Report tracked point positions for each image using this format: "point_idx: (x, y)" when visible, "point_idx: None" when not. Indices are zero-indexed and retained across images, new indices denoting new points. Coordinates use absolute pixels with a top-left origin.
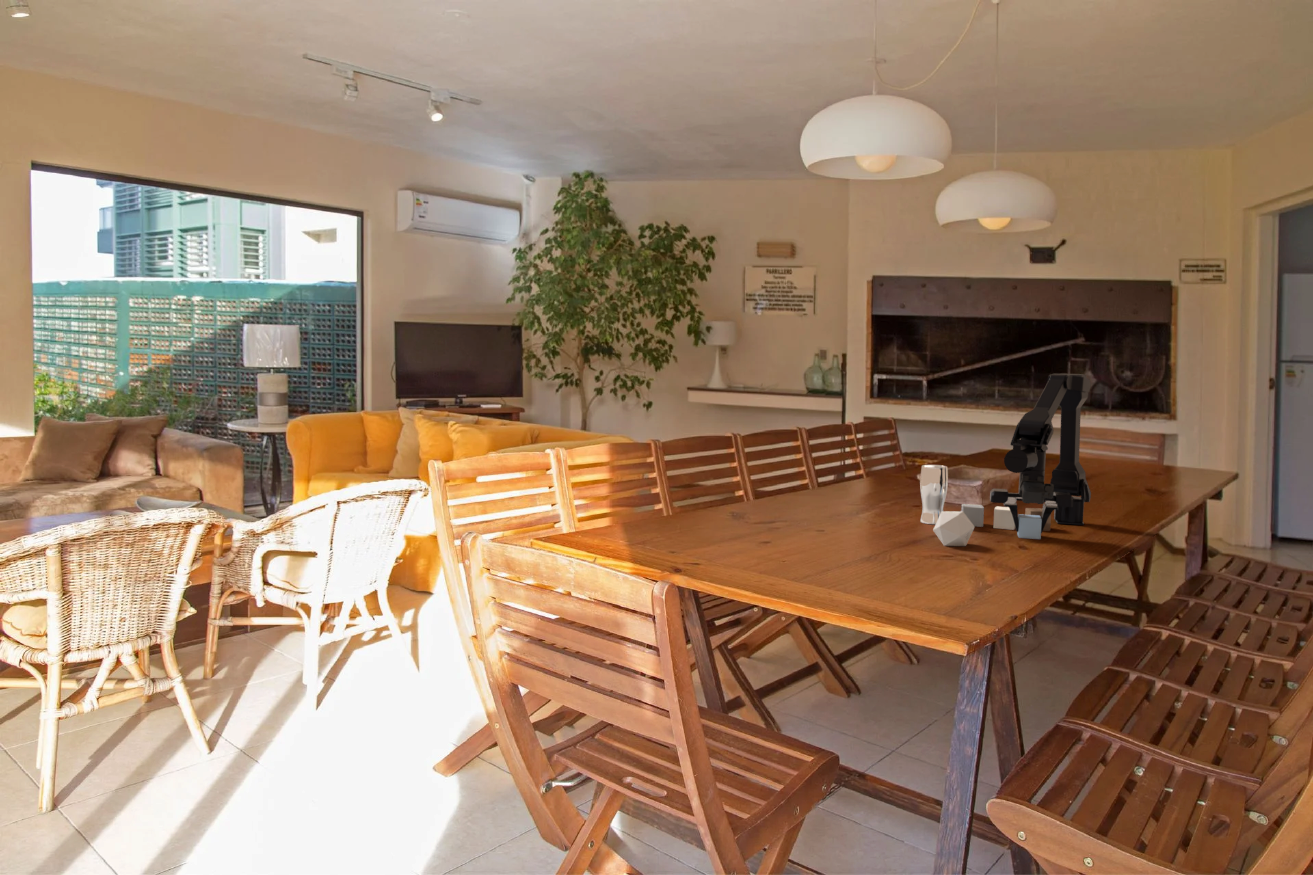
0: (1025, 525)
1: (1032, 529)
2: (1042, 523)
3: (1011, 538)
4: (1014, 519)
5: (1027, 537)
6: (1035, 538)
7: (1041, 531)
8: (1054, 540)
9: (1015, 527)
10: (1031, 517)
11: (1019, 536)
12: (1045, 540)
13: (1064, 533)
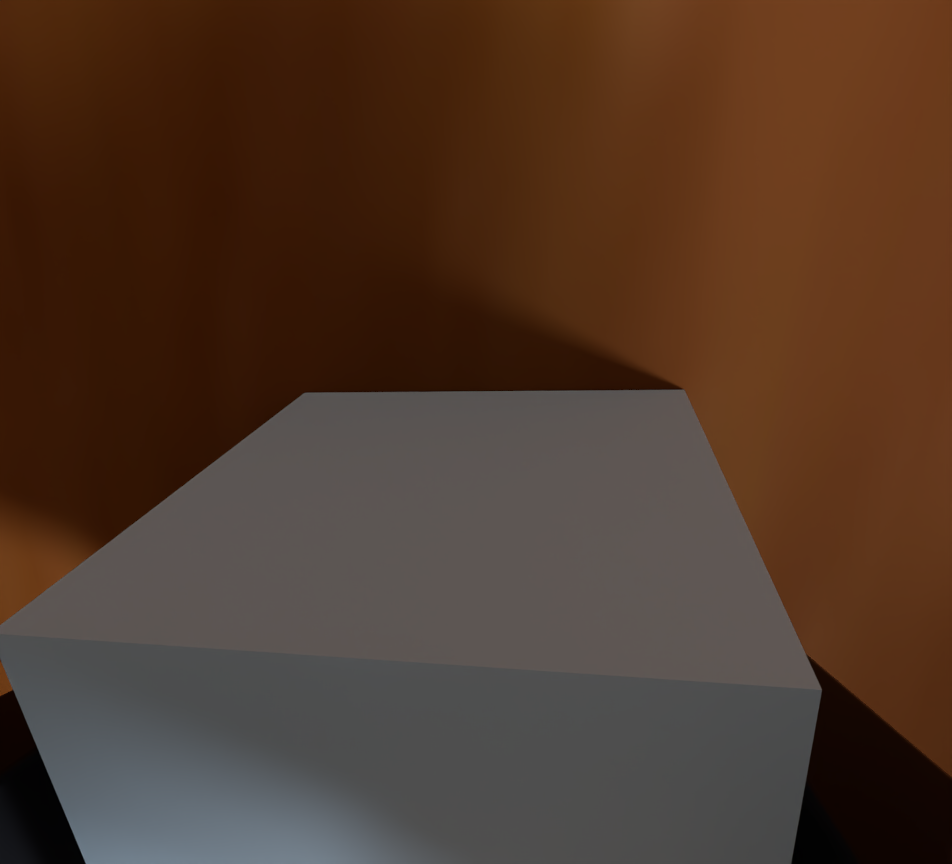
0: (560, 511)
1: (397, 463)
2: None
3: (859, 249)
4: (924, 774)
5: (521, 397)
6: (385, 396)
7: None
8: (98, 367)
9: None
10: (340, 796)
11: (673, 398)
12: (221, 306)
13: None
